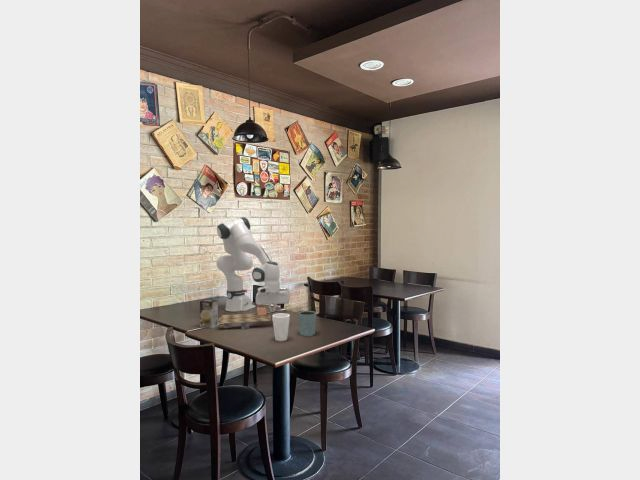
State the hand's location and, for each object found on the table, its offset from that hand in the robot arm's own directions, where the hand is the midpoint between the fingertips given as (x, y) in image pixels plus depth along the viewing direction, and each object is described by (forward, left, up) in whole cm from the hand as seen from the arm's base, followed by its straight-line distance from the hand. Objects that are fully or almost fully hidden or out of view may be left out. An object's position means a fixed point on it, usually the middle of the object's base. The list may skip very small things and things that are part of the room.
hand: (272, 311), depth 239 cm
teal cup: (+3, +27, -9) cm, 29 cm away
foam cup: (+19, +21, -9) cm, 30 cm away
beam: (+12, -12, -9) cm, 19 cm away
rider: (+5, -5, -3) cm, 7 cm away
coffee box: (+22, -32, -9) cm, 39 cm away
